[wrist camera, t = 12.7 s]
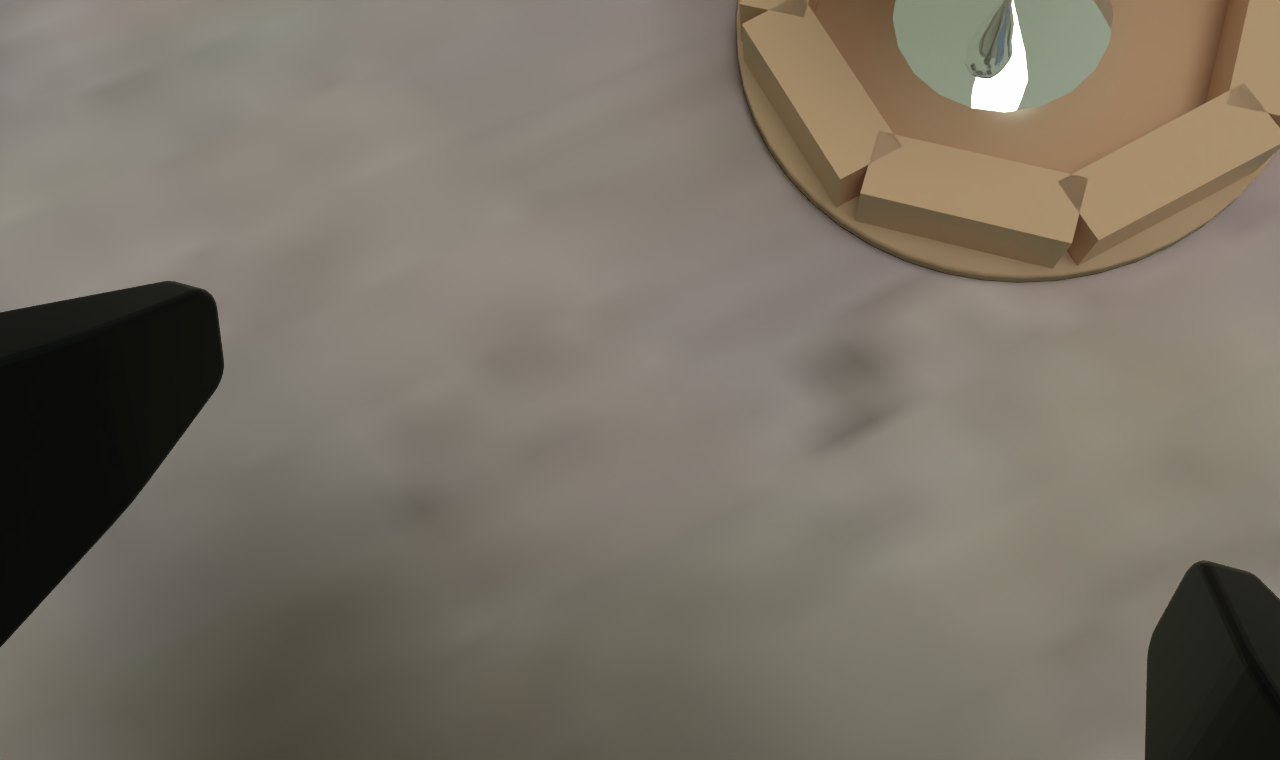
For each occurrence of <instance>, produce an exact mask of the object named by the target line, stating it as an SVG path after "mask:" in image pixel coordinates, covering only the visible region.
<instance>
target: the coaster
mask: <svg viewBox="0 0 1280 760" xmlns="http://www.w3.org/2000/svg"><path fill="white" fill-rule="evenodd" d="M1110 1H1111V4H1112V8H1113V12H1114V13H1113V21H1112V29H1111V37H1110V43H1109V45H1108V47H1107V49H1106V51H1105V52H1104V54H1103V56H1102V58H1101V60H1100V62H1099V64H1098V66H1097V68H1096V69H1095V71H1093V72H1092V73H1091V74H1090V75H1089V76H1088V77H1087V78H1086V79H1085V80H1084V81H1083V82H1082V83H1080V84H1079V85H1078V86H1077V87H1076V88H1075V89H1074V90H1073V91H1072V92H1070V93H1068V94H1066V95H1064V96H1062V97H1060V98H1057V99H1055V100H1053V101H1051V102H1049V103H1047V104H1045V105H1042V106H1040V107H1034V108H1028V109H1021V110H1015V111H1008V112H1001V111H993V110H985V109H977V108H970V107H967V106H965V105H963V104H960V103H958V102H956V101H953V100H951V99H948V98H946V97H944V96H941V95H939V94H938V93H937V92H935V91H934V90H933V89H932V88H931V87H929V86H928V85H927V84H926V83H925V82H924V81H922V80H921V79H920V78H919V77H918V76H916V75H915V74H914V73H913V71H912V69H911V68H910V66H909V64H908V63H907V61H906V59H905V58H904V56H903V54H902V53H901V51H900V49H899V48H898V44H897V39H896V33H895V28H894V23H893V13H894V7H895V2H896V0H738V10H737V19H736V22H737V45H738V63H739V68H740V73H741V78H742V83H743V89H744V93H745V96H746V99H747V102H748V105H749V108H750V111H751V113H752V116H753V119H754V122H755V124H756V126H757V128H758V130H759V132H760V134H761V136H762V138H763V139H764V141H765V143H766V145H767V147H768V149H769V151H770V153H771V154H772V155H773V157H774V158H775V160H776V161H777V162H778V164H779V165H780V167H781V168H782V169H783V171H784V172H785V174H786V175H787V176H788V178H789V179H790V180H791V181H792V182H793V183H794V184H795V185H796V186H797V187H798V189H799V190H800V191H801V192H802V193H803V194H804V195H805V196H806V197H807V198H808V199H809V200H810V201H811V202H812V203H813V204H814V205H815V206H816V207H817V208H819V209H820V210H821V211H822V212H824V213H825V214H826V215H827V216H829V217H830V218H831V219H832V220H834V221H835V222H836V223H837V224H839V225H840V226H841V227H843V228H844V229H846V230H848V231H849V232H851V233H852V234H854V235H856V236H857V237H859V238H861V239H862V240H864V241H865V242H867V243H869V244H870V245H872V246H874V247H876V248H879V249H881V250H883V251H885V252H887V253H890V254H892V255H894V256H896V257H898V258H901V259H903V260H905V261H908V262H911V263H914V264H917V265H921V266H924V267H927V268H930V269H933V270H936V271H940V272H943V273H948V274H954V275H959V276H964V277H970V278H975V279H981V280H995V281H1010V282H1032V281H1051V280H1063V279H1068V278H1074V277H1080V276H1085V275H1091V274H1097V273H1101V272H1104V271H1107V270H1111V269H1114V268H1117V267H1120V266H1124V265H1127V264H1130V263H1133V262H1137V261H1139V260H1141V259H1143V258H1145V257H1148V256H1150V255H1152V254H1154V253H1156V252H1159V251H1161V250H1163V249H1165V248H1168V247H1170V246H1172V245H1173V244H1175V243H1177V242H1178V241H1180V240H1182V239H1183V238H1185V237H1186V236H1188V235H1190V234H1191V233H1193V232H1194V231H1196V230H1198V229H1199V228H1201V227H1202V226H1204V225H1205V224H1206V223H1208V222H1209V221H1210V220H1211V219H1212V218H1214V217H1215V216H1216V215H1217V214H1219V213H1220V212H1221V211H1222V210H1223V209H1225V208H1226V207H1227V206H1228V205H1229V204H1231V203H1232V202H1233V201H1234V200H1235V199H1236V198H1237V197H1238V196H1239V195H1240V194H1241V193H1242V192H1243V191H1244V190H1245V189H1246V188H1247V187H1248V186H1249V185H1250V184H1251V183H1252V182H1253V180H1254V179H1255V178H1256V177H1257V176H1258V175H1259V174H1260V173H1261V172H1262V171H1263V169H1264V168H1265V167H1266V166H1267V165H1268V163H1269V162H1270V160H1271V159H1272V157H1273V156H1274V154H1275V153H1276V151H1277V150H1278V149H1279V148H1280V0H1110Z"/></svg>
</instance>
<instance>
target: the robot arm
mask: <svg viewBox="0 0 1280 760" xmlns="http://www.w3.org/2000/svg"><path fill="white" fill-rule="evenodd" d="M223 369H224V359H223V351H222V343H221V335H220V327H219V319H218V311H217V306H216V302H215V300H214V298H213V296H212V295H211V294H210V293H209V292H207V291H206V290H204V289H200V288H197V287H193V286H189V285H186V284H182V283H178V282H175V281H164V282H159V283H153V284H148V285H143V286H137V287H132V288H127V289H122V290H116V291H111V292H106V293H100V294H95V295H90V296H85V297H79V298H74V299H69V300H63V301H58V302H53V303H48V304H42V305H37V306H32V307H26V308H21V309H16V310H11V311H5V312H0V647H1V646H2V645H3V644H4V643H5V642H6V641H7V640H8V638H9V637H10V636H11V635H12V634H13V633H14V632H15V631H16V630H17V629H18V628H19V626H20V625H21V624H22V623H23V622H24V621H25V620H26V619H27V618H28V617H29V615H30V614H31V613H32V612H33V611H34V610H35V609H36V608H37V607H38V606H39V605H40V603H41V602H42V601H43V600H44V599H45V598H46V597H47V596H48V595H49V594H50V592H51V591H52V590H53V589H54V588H55V587H56V586H57V585H58V584H59V583H60V582H61V580H62V579H63V578H64V577H65V576H66V575H67V574H68V573H69V572H70V571H71V569H72V568H73V567H74V566H75V565H76V564H77V563H78V562H79V561H80V560H81V559H82V557H83V556H84V555H85V554H86V553H87V552H88V551H89V550H90V549H91V548H92V546H93V545H94V544H95V543H96V542H97V541H98V540H99V539H100V538H101V537H102V536H103V534H104V533H105V532H106V531H107V530H108V529H109V528H110V527H111V526H112V525H113V523H114V522H115V521H116V520H117V519H118V518H119V517H120V516H121V514H122V513H123V512H124V511H125V510H126V509H127V507H128V506H129V505H130V504H131V503H132V502H133V500H134V499H135V498H136V496H137V495H138V494H139V493H140V491H141V490H142V489H143V487H144V486H145V485H146V484H147V482H148V481H149V480H150V478H151V477H152V476H153V474H154V473H155V472H156V470H157V469H158V467H159V466H160V465H161V463H162V462H163V461H164V459H165V458H166V457H167V455H168V454H169V453H170V451H171V450H172V449H173V447H174V446H175V444H176V443H177V442H178V440H179V439H180V438H181V436H182V435H183V434H184V432H185V431H186V430H187V428H188V427H189V426H190V424H191V423H192V421H193V420H194V419H195V417H196V416H197V415H198V413H199V412H200V411H201V409H202V408H203V407H204V405H205V404H206V403H207V401H208V400H209V398H210V397H211V396H212V394H213V393H214V392H215V390H216V389H217V387H218V385H219V383H220V381H221V378H222V375H223ZM1145 760H1280V599H1279V598H1278V597H1277V596H1276V595H1275V594H1274V593H1273V592H1272V591H1271V590H1270V589H1269V588H1268V587H1267V586H1266V585H1265V584H1264V583H1263V582H1262V581H1261V580H1260V579H1259V578H1257V577H1256V576H1255V575H1253V574H1252V573H1250V572H1247V571H1243V570H1240V569H1236V568H1232V567H1228V566H1225V565H1221V564H1217V563H1213V562H1210V561H1204V560H1203V561H1199V562H1197V563H1194V564H1193V565H1192V566H1191V567H1190V568H1189V569H1188V571H1187V572H1186V574H1185V575H1184V577H1183V579H1182V581H1181V582H1180V584H1179V586H1178V588H1177V590H1176V591H1175V593H1174V595H1173V597H1172V599H1171V600H1170V602H1169V604H1168V606H1167V608H1166V609H1165V611H1164V613H1163V615H1162V617H1161V618H1160V620H1159V622H1158V624H1157V626H1156V628H1155V630H1154V632H1153V634H1152V637H1151V640H1150V644H1149V649H1148V655H1147V689H1146V732H1145Z"/></svg>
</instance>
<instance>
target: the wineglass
mask: <svg viewBox="0 0 1280 760" xmlns="http://www.w3.org/2000/svg"><path fill="white" fill-rule="evenodd" d="M1113 13H1114V12H1113V8H1112V4H1111V1H1110V0H896V2H895V7H894V13H893V23H894V28H895V33H896V39H897V44H898V48H899V49H900V51H901V53H902V54H903V56H904V58H905V59H906V61H907V63H908V64H909V66H910V68H911V69H912V71H913V73H914V74H915V75H916V76H918V77H919V78H920V79H921V80H922V81H924V82H925V83H926V84H927V85H928V86H929V87H931V88H932V89H933V90H934V91H935V92H937V93H938V94H939V95H941V96H944V97H946V98H948V99H951V100H953V101H956V102H958V103H960V104H963V105H965V106H967V107H970V108H977V109H985V110H993V111H1001V112H1008V111H1015V110H1021V109H1028V108H1034V107H1040V106H1042V105H1045V104H1047V103H1049V102H1051V101H1053V100H1055V99H1057V98H1060V97H1062V96H1064V95H1066V94H1068V93H1070V92H1072V91H1073V90H1074V89H1075V88H1076V87H1077V86H1078V85H1079V84H1080V83H1082V82H1083V81H1084V80H1085V79H1086V78H1087V77H1088V76H1089V75H1090V74H1091V73H1092V72H1093V71H1095V69H1096V68H1097V66H1098V64H1099V62H1100V60H1101V58H1102V56H1103V54H1104V52H1105V51H1106V49H1107V47H1108V45H1109V43H1110V37H1111V29H1112V21H1113Z"/></svg>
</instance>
